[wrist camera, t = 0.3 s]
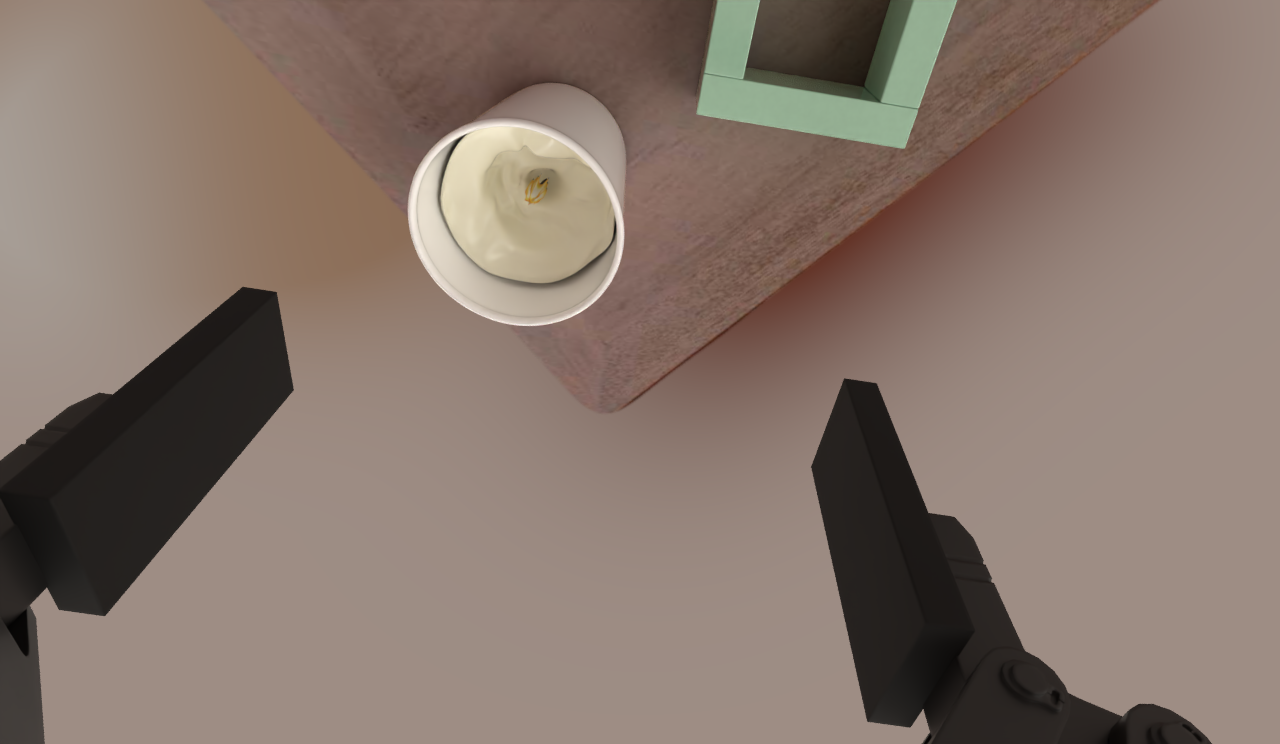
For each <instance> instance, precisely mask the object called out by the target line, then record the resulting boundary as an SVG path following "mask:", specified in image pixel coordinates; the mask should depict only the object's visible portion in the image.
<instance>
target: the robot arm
mask: <svg viewBox="0 0 1280 744" xmlns="http://www.w3.org/2000/svg"><path fill="white" fill-rule="evenodd" d="M293 390H294V389H293V383H292V378H291V372H290V366H289V360H288V354H287V349H286V343H285V337H284V331H283V326H282V320H281V315H280V309H279V303H278V297H277V292H273V291H266V290H260V289H253V288H247V287H242V288H241V289H240V290H238V291H237V292H236V293H235V294H234V295H232V296H231V297H230V298H229V299H228V300H226V301H225V302H224V303H223V304H221V305H220V306H219V307H218V308H217V309H215V311H213V312H212V313H211V314H209V315H208V316H207V317H206V318H205V319H203V320H202V321H201V322H200V323H199V324H198V325H196V326H195V327H194V328H193V329H191V330H190V331H189V332H188V333H187V334H185V335H184V336H183V337H182V338H181V339H179V340H178V341H177V342H176V343H175V344H173V345H172V346H171V347H170V348H169V349H167V350H166V351H165V352H164V353H162V354H161V355H160V356H159V357H158V358H156V359H155V360H154V361H153V362H152V363H150V364H149V365H148V366H147V367H146V368H144V369H143V370H142V371H141V372H140V373H138V374H137V375H136V376H135V377H134V378H132V379H131V380H130V381H129V382H128V383H126V384H125V385H124V386H123V387H122V388H120V389H119V390H118V391H117V392H115V393H114V394H113V395H112V394H105V393H98V394H95V395H93V396H91V397H89V398H87V399H84V400H82V401H80V402H78V403H76V404H74V405H72V406H69V407H68V408H67V409H65V410H64V411H63V412H62V413H60V414H59V415H58V416H56V417H55V418H54V419H53V420H51V421H50V422H49V423H47V424H46V425H45V429H40V430H39V431H37V432H36V433H35V434H34V435H32V436H31V437H30V438H28V439H27V440H26V444H21V445H20V446H18V447H17V448H16V449H15V450H14V451H12V452H11V453H9V454H8V455H7V456H6V457H4V458H3V459H2V460H1V461H0V744H45V742H44V727H43V713H42V700H41V699H42V698H41V684H40V669H39V655H38V640H37V625H36V617H35V615H34V613H33V611H32V609H31V607H30V604H31V603H32V602H33V601H34V600H35V599H36V598H37V597H38V596H39V595H40V594H41V593H42V592H43V591H44V590H45V589H46V588H48V590H49V592H50V594H51V596H52V597H53V599H54V601H55V603H56V605H57V607H58V609H59V610H64V611H72V612H79V613H86V614H94V615H100V616H105V615H106V614H107V613H108V612H109V611H110V609H111V608H112V607H113V606H114V605H115V603H116V602H117V601H118V600H119V599H120V597H121V596H122V595H123V594H124V593H125V591H126V590H127V589H128V588H129V587H130V585H131V584H132V583H133V582H134V581H135V580H136V578H137V577H138V576H139V575H140V573H141V572H142V571H143V570H144V569H145V568H146V566H147V565H148V564H149V563H150V562H151V560H152V559H153V558H154V557H155V555H156V554H157V553H158V552H159V551H160V550H161V548H162V547H163V546H164V545H165V544H166V542H167V541H168V540H169V539H170V537H171V536H172V535H173V534H174V533H175V531H176V530H177V529H178V528H179V527H180V526H181V524H182V523H183V522H184V521H185V520H186V518H187V517H188V516H189V515H190V514H191V512H192V511H193V510H194V509H195V508H196V506H197V505H198V504H199V503H200V502H201V500H202V499H203V498H204V497H205V495H206V494H207V493H208V492H209V491H210V490H211V488H212V487H213V486H214V485H215V484H216V482H217V481H218V480H219V479H220V477H222V475H223V474H224V473H225V472H226V470H227V469H228V468H229V467H230V466H231V465H232V463H233V462H234V461H235V460H236V459H237V457H238V456H239V455H240V454H241V453H242V451H243V450H244V449H245V448H246V447H247V445H248V444H249V443H250V442H251V441H252V439H253V438H254V437H255V436H256V435H257V433H258V432H259V431H260V430H261V428H262V427H263V426H264V425H265V424H266V422H267V421H268V420H269V419H270V418H271V416H272V415H273V414H274V413H275V412H276V411H277V409H278V408H279V407H280V406H281V405H282V403H283V402H284V401H285V400H286V399H287V397H288V396H289V395H290V394H291V393H292V391H293ZM811 468H812V472H813V477H814V482H815V486H816V491H817V495H818V500H819V504H820V508H821V513H822V518H823V522H824V527H825V531H826V536H827V540H828V545H829V550H830V554H831V559H832V563H833V567H834V572H835V577H836V581H837V586H838V590H839V595H840V599H841V604H842V609H843V613H844V618H845V622H846V627H847V631H848V636H849V640H850V645H851V649H852V654H853V659H854V663H855V668H856V672H857V677H858V681H859V686H860V690H861V695H862V699H863V704H864V709H865V713H866V718H867V721H868V722H874V723H881V724H888V725H896V726H903V727H911V726H912V724H913V723H914V721H915V720H916V719H917V717H918V715H919V714H920V713H921V711H922V709H924V713H925V716H926V719H927V723H928V726H929V730H930V733H929V734H928V736H927V737H926V739H925V740H924V742H923V743H922V744H1212V743H1211V742H1210V741H1209V740H1208V738H1207V737H1206V736H1205V735H1204V734H1203V733H1202V732H1200V731H1199V730H1198V729H1197V728H1196V727H1195V726H1194V725H1193V724H1192V723H1191V722H1189V721H1187V720H1186V719H1184V718H1183V717H1181V716H1179V715H1178V714H1176V713H1174V712H1173V711H1171V710H1169V709H1166V708H1163V707H1160V706H1157V705H1154V704H1138V705H1136V706H1135V707H1133V708H1132V709H1130V710H1129V711H1128V712H1127V713H1126V714H1125V715H1124V716H1123V717H1122V716H1120V715H1117V714H1115V713H1112V712H1110V711H1108V710H1105V709H1103V708H1100V707H1098V706H1095V705H1093V704H1091V703H1088V702H1086V701H1084V700H1082V699H1079V698H1077V697H1075V696H1073V695H1071V694H1069V693H1068V692H1067V690H1066V687H1065V685H1064V684H1063V683H1062V681H1061V680H1060V679H1059V677H1058V676H1057V675H1056V673H1055V672H1054V671H1053V670H1052V669H1051V668H1050V667H1048V666H1047V665H1046V664H1045V663H1044V662H1042V661H1041V660H1040V659H1039V658H1037V657H1035V656H1033V655H1031V654H1030V653H1028V652H1026V651H1025V650H1024V648H1023V646H1022V644H1021V641H1020V639H1019V637H1018V635H1017V633H1016V630H1015V628H1014V626H1013V624H1012V622H1011V619H1010V618H1009V615H1008V613H1007V611H1006V609H1005V607H1004V604H1003V602H1002V600H1001V598H1000V596H999V593H998V591H997V589H996V587H995V585H994V583H992V582H991V579H992V578H991V576H990V573H989V571H988V569H987V567H986V565H984V564H983V558H982V556H981V554H980V551H979V549H978V547H977V545H976V543H975V541H974V539H973V537H972V536H971V535H970V534H969V533H968V532H967V530H966V529H965V528H964V527H963V526H962V525H961V524H960V523H959V522H958V521H957V519H956V518H955V517H951V516H945V515H937V514H931V513H928V511H927V509H926V506H925V503H924V501H923V499H922V496H921V493H920V491H919V488H918V486H917V483H916V481H915V478H914V476H913V473H912V471H911V468H910V466H909V463H908V461H907V458H906V456H905V453H904V451H903V448H902V446H901V443H900V441H899V438H898V436H897V433H896V431H895V428H894V426H893V423H892V421H891V418H890V416H889V413H888V411H887V408H886V406H885V403H884V401H883V398H882V396H881V393H880V391H879V388H878V386H877V384H876V383H871V382H864V381H858V380H851V379H844V381H843V383H842V386H841V389H840V391H839V394H838V397H837V400H836V402H835V405H834V408H833V410H832V413H831V415H830V418H829V421H828V423H827V426H826V429H825V431H824V434H823V437H822V440H821V442H820V445H819V447H818V450H817V453H816V456H815V458H814V461H813V464H812V466H811Z"/></svg>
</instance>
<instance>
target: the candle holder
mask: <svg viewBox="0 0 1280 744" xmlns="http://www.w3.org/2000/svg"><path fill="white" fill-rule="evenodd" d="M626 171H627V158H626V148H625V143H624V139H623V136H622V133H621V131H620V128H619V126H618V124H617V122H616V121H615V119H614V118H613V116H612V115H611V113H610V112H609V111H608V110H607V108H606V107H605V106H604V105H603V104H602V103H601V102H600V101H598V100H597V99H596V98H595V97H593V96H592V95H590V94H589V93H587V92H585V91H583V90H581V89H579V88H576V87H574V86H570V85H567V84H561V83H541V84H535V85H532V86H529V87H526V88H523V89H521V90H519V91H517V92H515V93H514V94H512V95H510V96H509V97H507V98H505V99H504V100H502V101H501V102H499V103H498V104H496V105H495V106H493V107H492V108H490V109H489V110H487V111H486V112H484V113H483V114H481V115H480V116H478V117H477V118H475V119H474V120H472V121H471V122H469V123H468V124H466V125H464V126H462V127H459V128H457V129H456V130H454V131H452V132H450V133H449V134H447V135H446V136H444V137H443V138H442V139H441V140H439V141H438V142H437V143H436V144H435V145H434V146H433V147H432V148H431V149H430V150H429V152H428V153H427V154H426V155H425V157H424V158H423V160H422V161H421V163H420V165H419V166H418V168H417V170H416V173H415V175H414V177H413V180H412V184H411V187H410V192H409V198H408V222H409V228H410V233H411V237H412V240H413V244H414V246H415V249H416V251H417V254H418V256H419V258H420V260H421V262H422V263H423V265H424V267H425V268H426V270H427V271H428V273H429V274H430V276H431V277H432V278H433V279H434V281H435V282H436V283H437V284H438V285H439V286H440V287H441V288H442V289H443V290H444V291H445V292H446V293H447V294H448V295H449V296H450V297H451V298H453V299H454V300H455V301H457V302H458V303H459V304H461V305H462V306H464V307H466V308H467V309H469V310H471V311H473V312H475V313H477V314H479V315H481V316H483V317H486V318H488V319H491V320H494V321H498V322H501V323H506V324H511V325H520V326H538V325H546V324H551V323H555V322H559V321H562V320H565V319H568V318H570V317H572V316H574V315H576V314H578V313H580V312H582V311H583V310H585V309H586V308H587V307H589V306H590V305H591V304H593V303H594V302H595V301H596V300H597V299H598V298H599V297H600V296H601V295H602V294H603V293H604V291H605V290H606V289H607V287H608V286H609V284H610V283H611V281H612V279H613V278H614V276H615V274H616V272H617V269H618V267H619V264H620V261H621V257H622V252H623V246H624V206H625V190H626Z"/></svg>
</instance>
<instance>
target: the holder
mask: <svg viewBox="0 0 1280 744" xmlns="http://www.w3.org/2000/svg"><path fill="white" fill-rule="evenodd" d="M956 2H957V0H890V3H889V7H888V10H887V13H886V16H885V20H884V23H883V26H882V29H881V33H880V36H879V39H878V42H877V46H876V49H875V52H874V55H873V59H872V62H871V65H870V68H869V72H868V75H867V78H866V81H865V84H864V87H862V86H856V85H850V84H844V83H838V82H832V81H826V80H820V79H814V78H808V77H802V76H796V75H790V74H784V73H779V72H773V71H767V70H761V69H755V68H749V67H746V64H747V59H748V54H749V50H750V45H751V40H752V36H753V31H754V26H755V22H756V17H757V12H758V8H759V3H760V0H713V5H712V10H711V16H710V21H709V27H708V32H707V38H706V43H705V49H704V54H703V61H702V65H701V71H700V76H699V82H698V87H697V93H696V113H697V115H703V116H710V117H716V118H722V119H728V120H734V121H740V122H746V123H752V124H758V125H764V126H770V127H776V128H782V129H788V130H794V131H800V132H806V133H812V134H818V135H824V136H830V137H836V138H842V139H848V140H854V141H860V142H866V143H872V144H878V145H884V146H890V147H896V148H902V149H904V148H905V146H906V143H907V140H908V138H909V135H910V132H911V129H912V126H913V124H914V121H915V118H916V115H917V112H918V108H919V106H920V103H921V100H922V98H923V95H924V92H925V89H926V86H927V84H928V81H929V78H930V75H931V72H932V70H933V67H934V64H935V61H936V58H937V56H938V53H939V50H940V47H941V44H942V41H943V39H944V36H945V33H946V30H947V27H948V25H949V22H950V19H951V16H952V13H953V11H954V8H955V5H956Z"/></svg>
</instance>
